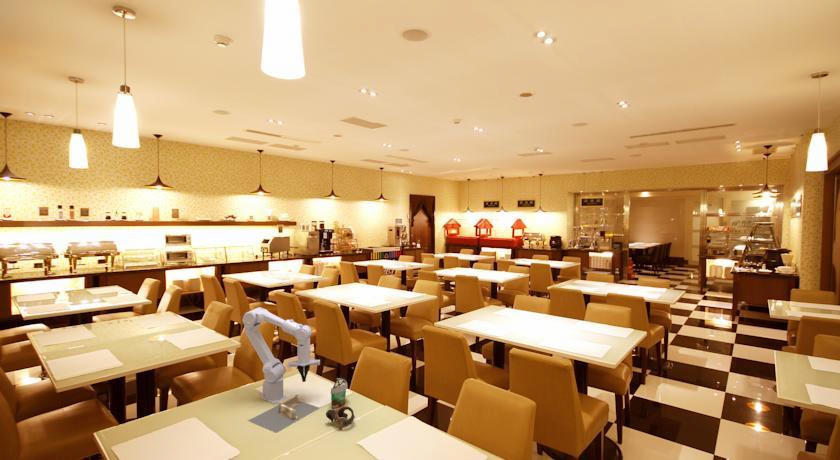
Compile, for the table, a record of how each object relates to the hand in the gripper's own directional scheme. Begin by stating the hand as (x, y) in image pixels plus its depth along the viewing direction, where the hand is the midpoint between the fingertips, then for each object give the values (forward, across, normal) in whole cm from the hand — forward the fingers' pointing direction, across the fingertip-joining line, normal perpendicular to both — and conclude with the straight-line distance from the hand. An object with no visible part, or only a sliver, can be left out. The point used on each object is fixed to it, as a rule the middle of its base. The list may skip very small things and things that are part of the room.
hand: (304, 381), depth 188 cm
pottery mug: (+10, +16, -25) cm, 31 cm away
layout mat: (+9, -8, -12) cm, 17 cm away
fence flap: (+9, -6, -14) cm, 18 cm away
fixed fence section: (+9, -6, -6) cm, 13 cm away
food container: (+10, +16, -7) cm, 21 cm away
